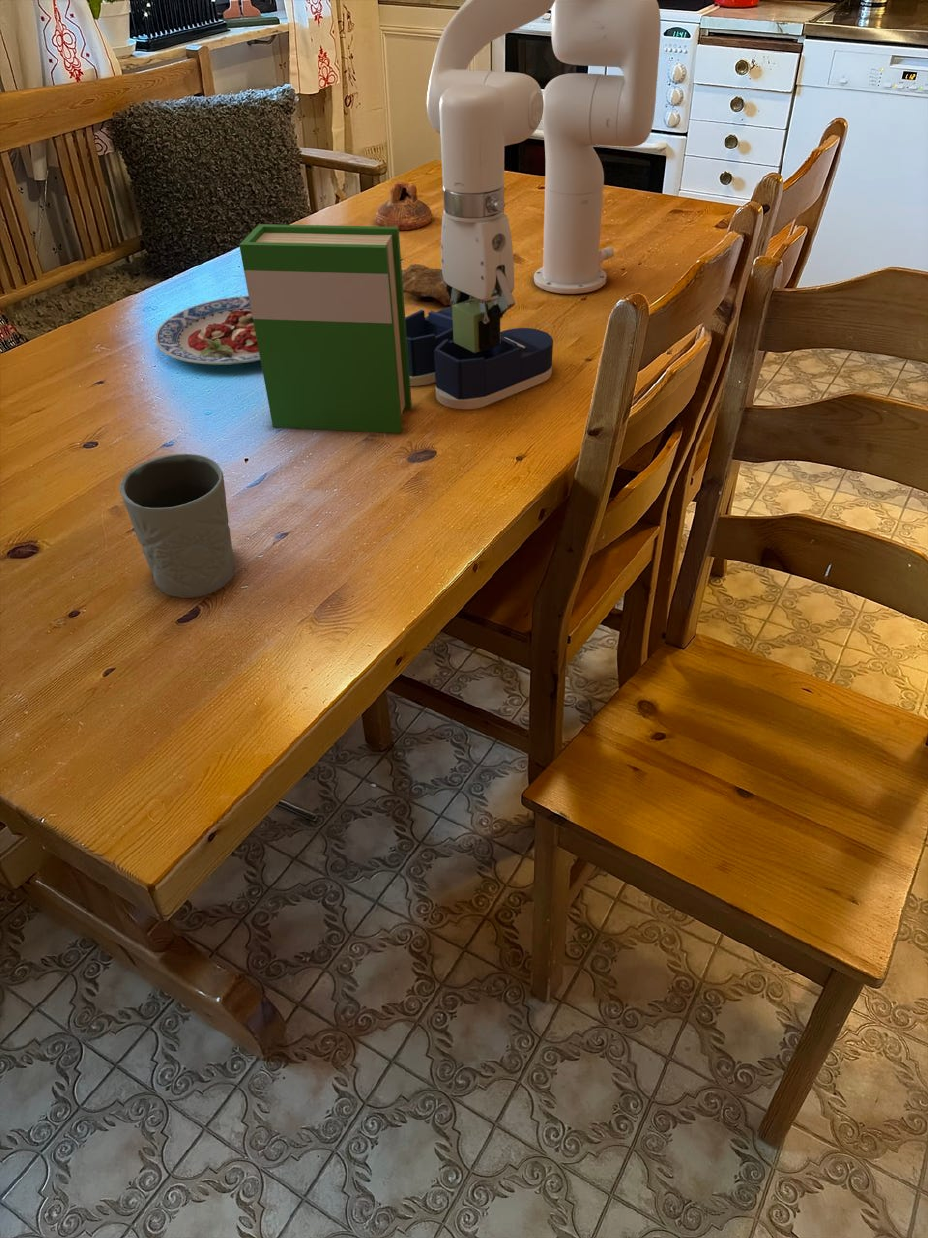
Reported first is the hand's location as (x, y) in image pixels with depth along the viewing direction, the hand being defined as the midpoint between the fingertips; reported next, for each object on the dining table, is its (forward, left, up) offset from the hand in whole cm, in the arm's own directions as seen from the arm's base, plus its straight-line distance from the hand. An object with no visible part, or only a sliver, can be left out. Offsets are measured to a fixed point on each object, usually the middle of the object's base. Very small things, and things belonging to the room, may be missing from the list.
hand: (477, 340), depth 125 cm
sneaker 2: (-3, 0, -7) cm, 8 cm away
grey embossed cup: (+51, +8, -8) cm, 52 cm away
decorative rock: (-20, -31, -8) cm, 38 cm away
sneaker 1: (-3, -11, -7) cm, 14 cm away
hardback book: (+18, -8, -8) cm, 21 cm away
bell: (-43, -64, -8) cm, 78 cm away
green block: (0, 0, 0) cm, 0 cm away
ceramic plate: (+13, -40, -8) cm, 43 cm away
